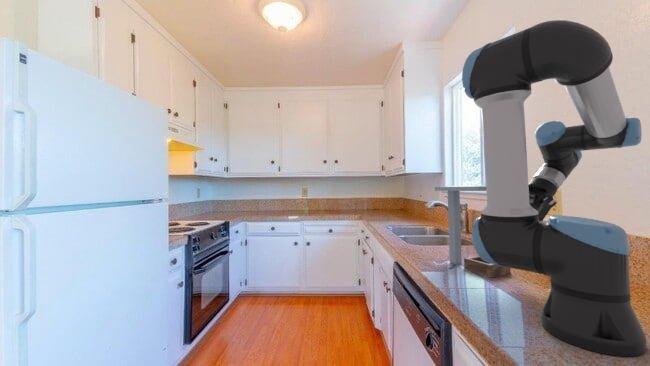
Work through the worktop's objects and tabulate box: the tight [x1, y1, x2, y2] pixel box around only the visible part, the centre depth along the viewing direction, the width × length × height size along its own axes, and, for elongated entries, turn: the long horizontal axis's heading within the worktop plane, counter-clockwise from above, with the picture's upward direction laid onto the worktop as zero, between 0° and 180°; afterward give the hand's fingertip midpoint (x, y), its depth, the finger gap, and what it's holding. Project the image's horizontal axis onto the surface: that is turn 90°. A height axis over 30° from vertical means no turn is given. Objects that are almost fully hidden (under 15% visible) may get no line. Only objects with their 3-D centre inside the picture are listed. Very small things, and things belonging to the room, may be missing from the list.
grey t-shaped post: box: [434, 185, 487, 265], centre depth 101 cm, size 12×19×30 cm, turn 22°
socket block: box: [463, 255, 511, 278], centre depth 98 cm, size 10×10×4 cm
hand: (503, 238), depth 86 cm, fingers closed on supplement bottle, 5 cm apart
